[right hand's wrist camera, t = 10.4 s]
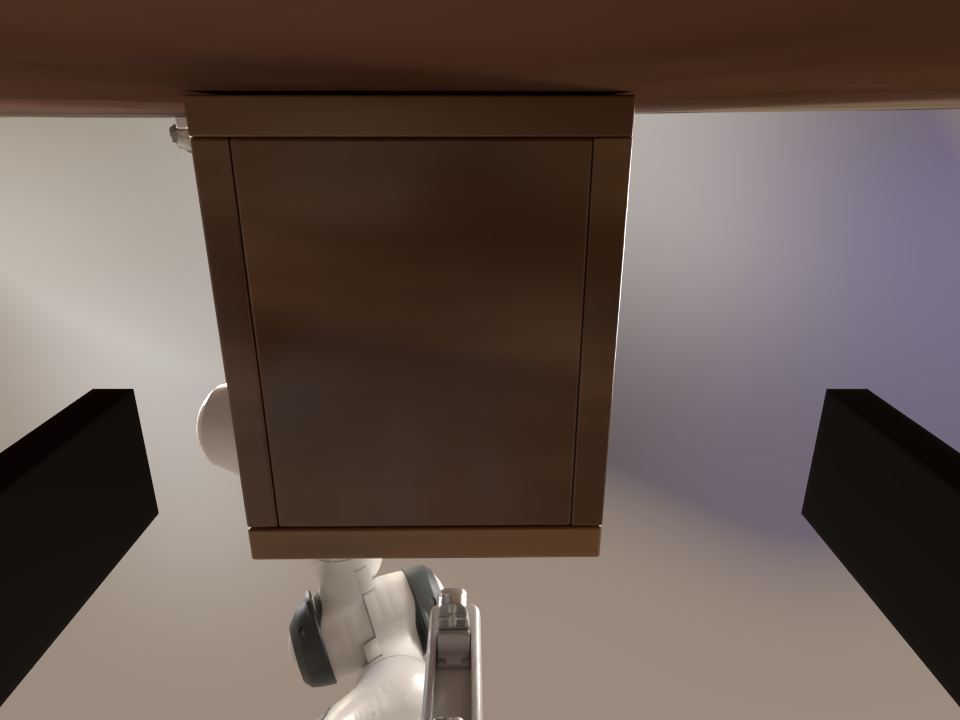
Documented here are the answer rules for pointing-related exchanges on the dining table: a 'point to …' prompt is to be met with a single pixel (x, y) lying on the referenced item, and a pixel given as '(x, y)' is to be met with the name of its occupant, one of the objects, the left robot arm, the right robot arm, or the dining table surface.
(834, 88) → the dining table surface
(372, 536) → the lid
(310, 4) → the dining table surface
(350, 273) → the chest
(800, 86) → the dining table surface
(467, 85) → the dining table surface
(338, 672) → the left robot arm
